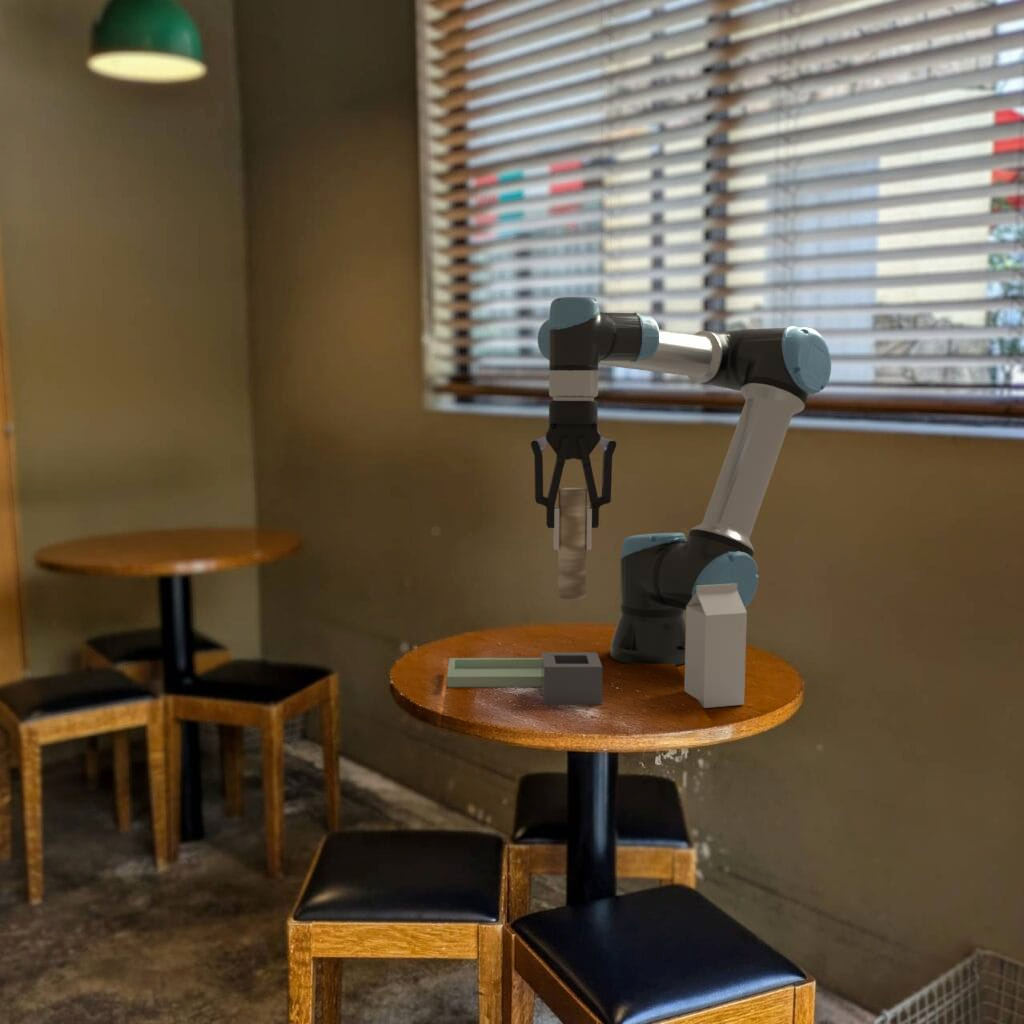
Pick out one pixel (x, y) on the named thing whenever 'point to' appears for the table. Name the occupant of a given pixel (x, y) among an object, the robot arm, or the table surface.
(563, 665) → the square block with hole
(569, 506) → the dowel
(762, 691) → the table surface
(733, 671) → the milk carton
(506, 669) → the tray
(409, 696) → the table surface
